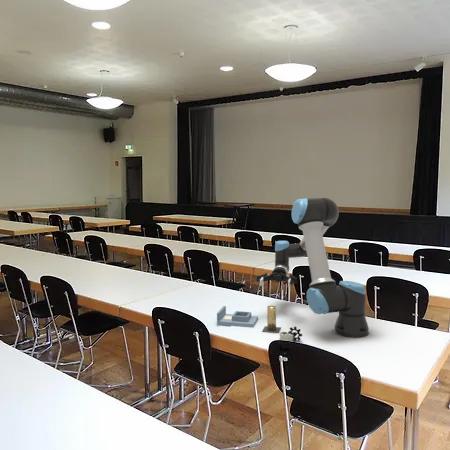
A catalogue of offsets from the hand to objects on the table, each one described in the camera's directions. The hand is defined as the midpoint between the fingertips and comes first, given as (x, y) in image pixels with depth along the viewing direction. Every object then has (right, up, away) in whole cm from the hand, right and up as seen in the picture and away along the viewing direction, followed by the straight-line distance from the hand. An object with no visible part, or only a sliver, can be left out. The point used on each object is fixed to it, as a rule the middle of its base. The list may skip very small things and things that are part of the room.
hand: (274, 283), depth 209 cm
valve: (+3, -23, -23) cm, 33 cm away
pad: (-2, -21, -6) cm, 22 cm away
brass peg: (-2, -21, -6) cm, 22 cm away
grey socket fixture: (-18, -20, +5) cm, 27 cm away
